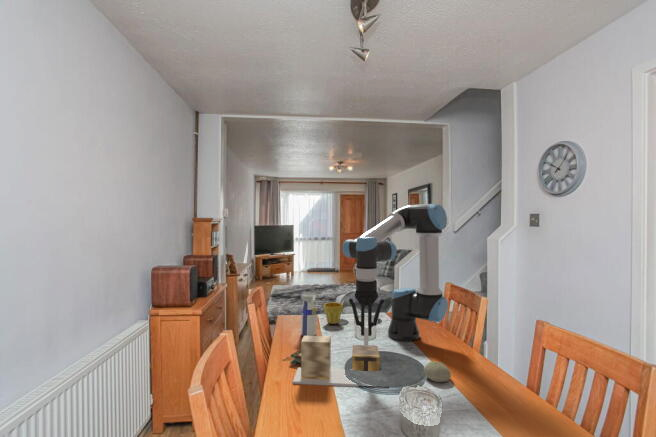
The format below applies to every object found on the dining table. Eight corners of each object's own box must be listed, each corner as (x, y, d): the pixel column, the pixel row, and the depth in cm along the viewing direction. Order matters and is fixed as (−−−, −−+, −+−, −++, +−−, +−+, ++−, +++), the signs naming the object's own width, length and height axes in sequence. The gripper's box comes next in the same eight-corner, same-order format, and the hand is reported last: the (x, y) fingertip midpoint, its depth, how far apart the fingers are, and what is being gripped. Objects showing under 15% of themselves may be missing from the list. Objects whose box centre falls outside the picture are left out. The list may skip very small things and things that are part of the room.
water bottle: (320, 332, 168) (320, 283, 168) (310, 337, 160) (311, 285, 161) (307, 329, 172) (307, 281, 172) (297, 334, 165) (297, 284, 165)
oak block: (330, 371, 123) (330, 336, 123) (329, 379, 117) (329, 342, 117) (303, 370, 123) (303, 335, 123) (301, 378, 117) (301, 341, 117)
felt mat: (385, 373, 123) (385, 370, 123) (389, 387, 112) (389, 385, 112) (298, 369, 126) (298, 367, 126) (292, 383, 115) (292, 381, 115)
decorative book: (295, 352, 143) (295, 341, 143) (331, 360, 135) (331, 348, 135) (276, 364, 131) (276, 352, 131) (315, 374, 123) (315, 360, 123)
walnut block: (379, 373, 121) (377, 361, 134) (379, 356, 122) (377, 345, 135) (352, 372, 122) (352, 360, 135) (352, 355, 122) (352, 344, 135)
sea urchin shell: (449, 366, 123) (451, 358, 117) (449, 389, 118) (451, 382, 112) (424, 362, 126) (424, 354, 120) (423, 384, 121) (423, 377, 115)
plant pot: (336, 326, 178) (336, 307, 178) (320, 323, 183) (320, 305, 183) (345, 321, 187) (345, 303, 187) (329, 318, 192) (330, 301, 192)
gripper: (383, 278, 124) (383, 341, 124) (348, 277, 125) (348, 340, 125) (385, 281, 116) (385, 349, 116) (348, 281, 118) (348, 347, 117)
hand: (366, 344), depth 121 cm, fingers closed
